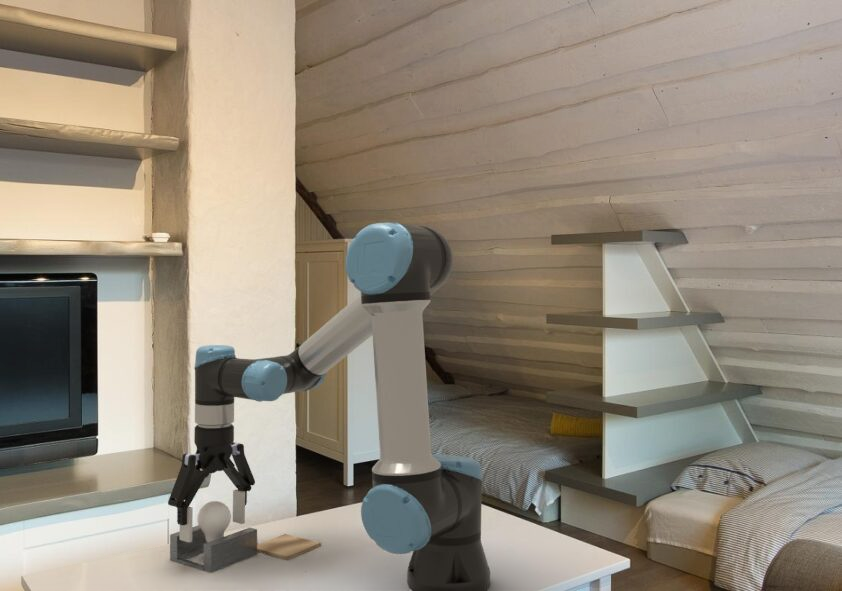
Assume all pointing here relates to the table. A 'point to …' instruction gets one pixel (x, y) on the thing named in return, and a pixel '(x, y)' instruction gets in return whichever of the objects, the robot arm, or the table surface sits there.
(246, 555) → the housing
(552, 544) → the table surface
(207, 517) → the lightbulb
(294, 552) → the cork pad
